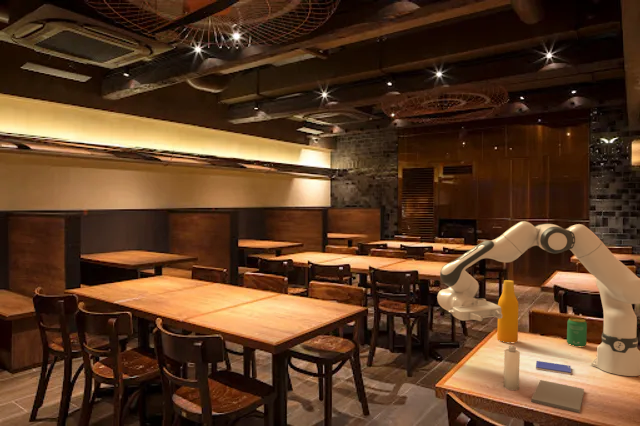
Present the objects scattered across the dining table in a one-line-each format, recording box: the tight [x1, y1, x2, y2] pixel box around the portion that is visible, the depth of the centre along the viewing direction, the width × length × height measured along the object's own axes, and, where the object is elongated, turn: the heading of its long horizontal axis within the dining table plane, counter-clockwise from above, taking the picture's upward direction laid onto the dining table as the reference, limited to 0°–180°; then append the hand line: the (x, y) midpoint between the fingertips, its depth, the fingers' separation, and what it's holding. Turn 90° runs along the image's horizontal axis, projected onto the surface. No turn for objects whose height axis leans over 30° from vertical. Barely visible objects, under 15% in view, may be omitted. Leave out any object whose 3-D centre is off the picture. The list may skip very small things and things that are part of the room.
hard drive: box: [535, 360, 572, 375], centre depth 183 cm, size 2×8×12 cm
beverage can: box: [566, 317, 588, 347], centre depth 215 cm, size 8×8×12 cm
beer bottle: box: [496, 279, 520, 343], centre depth 220 cm, size 9×9×29 cm
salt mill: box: [503, 345, 521, 391], centre depth 164 cm, size 5×5×15 cm
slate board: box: [531, 379, 585, 414], centre depth 156 cm, size 20×14×1 cm
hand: (491, 317), depth 174 cm, fingers open, 8 cm apart
